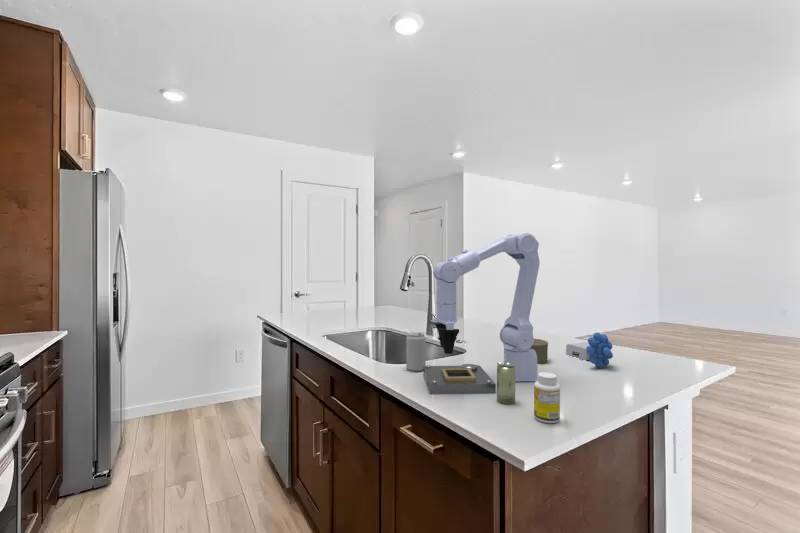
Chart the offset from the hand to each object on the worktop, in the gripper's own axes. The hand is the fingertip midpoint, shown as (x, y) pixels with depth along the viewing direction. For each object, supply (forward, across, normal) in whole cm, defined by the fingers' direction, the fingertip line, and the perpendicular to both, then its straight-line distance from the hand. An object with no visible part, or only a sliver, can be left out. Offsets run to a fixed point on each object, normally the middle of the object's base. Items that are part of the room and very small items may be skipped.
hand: (446, 350), depth 112 cm
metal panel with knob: (+10, -2, +3) cm, 11 cm away
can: (+11, -26, +34) cm, 44 cm away
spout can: (+10, +13, +13) cm, 21 cm away
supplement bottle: (+10, +24, +20) cm, 33 cm away
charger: (+11, -31, +59) cm, 67 cm away
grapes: (+11, -15, +54) cm, 57 cm away
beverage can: (+10, -15, -8) cm, 20 cm away
